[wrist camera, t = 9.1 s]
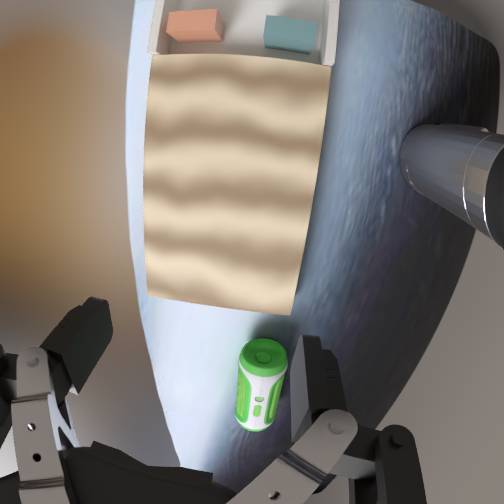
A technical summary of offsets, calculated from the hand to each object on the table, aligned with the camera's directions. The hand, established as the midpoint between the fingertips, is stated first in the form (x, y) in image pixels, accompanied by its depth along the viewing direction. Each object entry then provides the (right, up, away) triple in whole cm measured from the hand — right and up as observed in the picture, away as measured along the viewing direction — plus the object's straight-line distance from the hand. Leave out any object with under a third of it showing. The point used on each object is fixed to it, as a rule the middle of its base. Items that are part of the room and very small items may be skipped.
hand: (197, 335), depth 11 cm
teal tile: (+6, +25, +13) cm, 29 cm away
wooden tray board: (-1, +11, +23) cm, 26 cm away
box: (+2, +29, +15) cm, 33 cm away
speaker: (+4, -17, +36) cm, 40 cm away
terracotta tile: (-4, +26, +13) cm, 30 cm away
